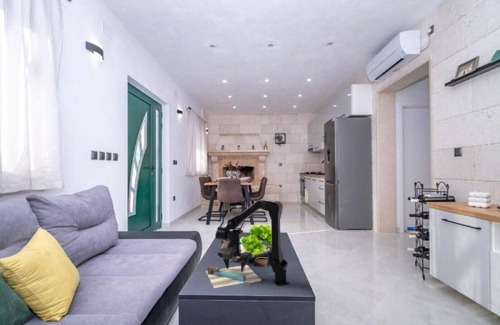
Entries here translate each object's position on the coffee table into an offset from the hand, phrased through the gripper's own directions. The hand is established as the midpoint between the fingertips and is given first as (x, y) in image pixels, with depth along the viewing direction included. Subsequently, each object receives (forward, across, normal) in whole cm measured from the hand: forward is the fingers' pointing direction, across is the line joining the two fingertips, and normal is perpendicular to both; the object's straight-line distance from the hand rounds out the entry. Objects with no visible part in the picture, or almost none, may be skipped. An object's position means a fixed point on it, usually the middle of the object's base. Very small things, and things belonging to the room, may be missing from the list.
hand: (234, 270), depth 137 cm
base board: (+2, +1, -3) cm, 4 cm away
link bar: (+1, +1, -6) cm, 6 cm away
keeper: (+1, -8, -7) cm, 10 cm away
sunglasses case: (+3, +5, +24) cm, 25 cm away
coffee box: (+2, -15, +17) cm, 23 cm away
